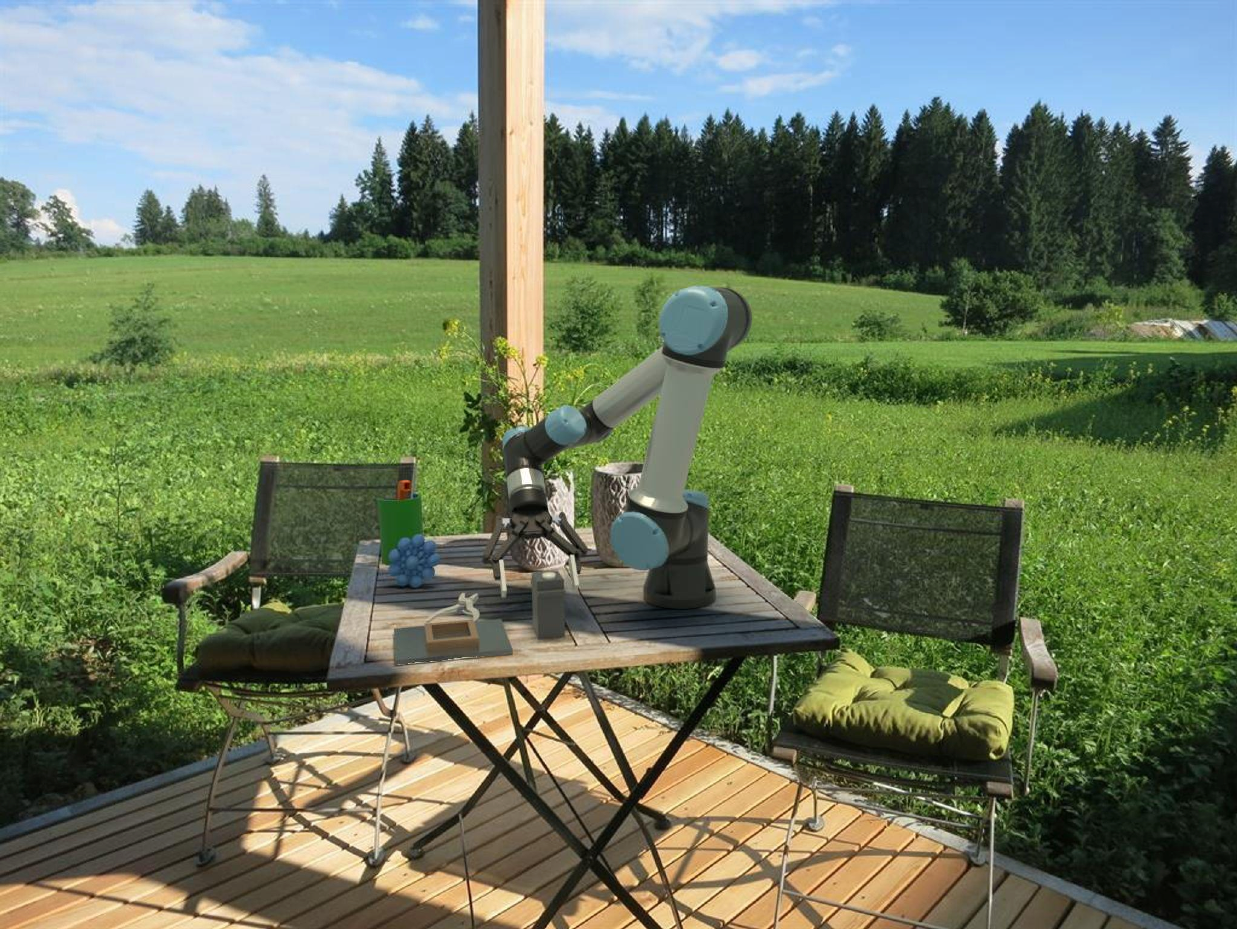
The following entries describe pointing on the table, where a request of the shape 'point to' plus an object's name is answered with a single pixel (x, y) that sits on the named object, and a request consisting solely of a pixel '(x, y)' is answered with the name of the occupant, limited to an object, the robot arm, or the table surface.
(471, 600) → the pliers
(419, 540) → the grapes
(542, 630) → the servo
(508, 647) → the plate
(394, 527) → the green pencil holder
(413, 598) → the table surface
